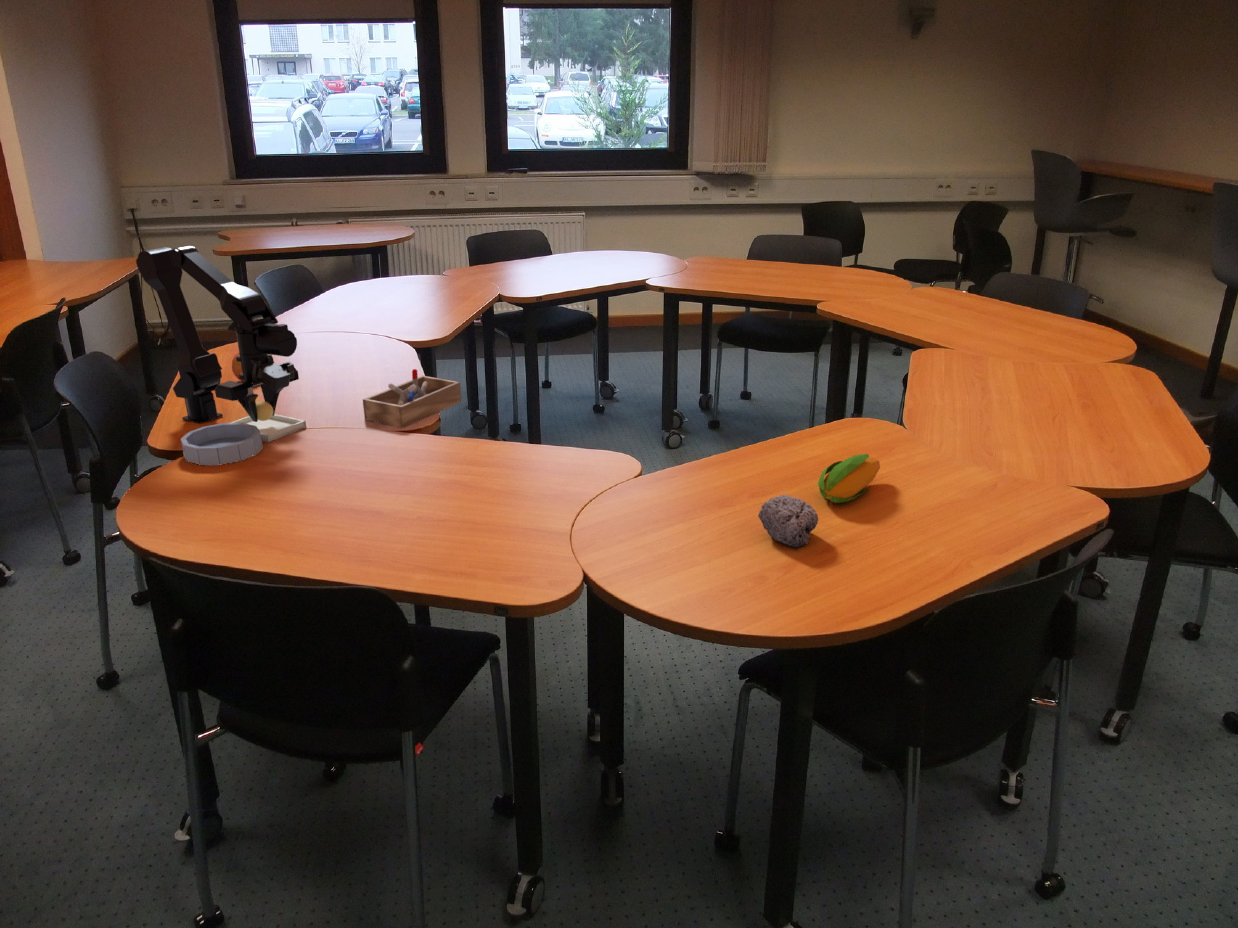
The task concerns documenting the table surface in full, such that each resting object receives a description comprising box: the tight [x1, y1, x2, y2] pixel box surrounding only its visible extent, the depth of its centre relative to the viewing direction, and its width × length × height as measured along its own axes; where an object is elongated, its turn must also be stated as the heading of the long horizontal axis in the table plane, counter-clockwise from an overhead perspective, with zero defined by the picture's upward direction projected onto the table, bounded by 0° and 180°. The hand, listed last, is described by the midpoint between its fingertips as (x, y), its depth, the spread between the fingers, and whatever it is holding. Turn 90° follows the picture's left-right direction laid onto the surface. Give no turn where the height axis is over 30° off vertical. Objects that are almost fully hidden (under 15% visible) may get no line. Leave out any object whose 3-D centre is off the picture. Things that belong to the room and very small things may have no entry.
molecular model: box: [388, 368, 428, 405], centre depth 215 cm, size 18×8×10 cm, turn 174°
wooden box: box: [362, 375, 462, 429], centre depth 216 cm, size 12×22×5 cm, turn 152°
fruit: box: [231, 352, 244, 382], centre depth 237 cm, size 8×8×8 cm
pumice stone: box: [757, 494, 819, 549], centre depth 154 cm, size 10×8×10 cm
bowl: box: [180, 422, 264, 466], centre depth 191 cm, size 15×15×4 cm
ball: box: [256, 400, 273, 421], centre depth 203 cm, size 4×4×4 cm
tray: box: [230, 413, 307, 443], centre depth 204 cm, size 14×11×2 cm
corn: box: [817, 453, 881, 504], centre depth 172 cm, size 7×8×20 cm
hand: (263, 418), depth 204 cm, fingers closed on ball, 4 cm apart
